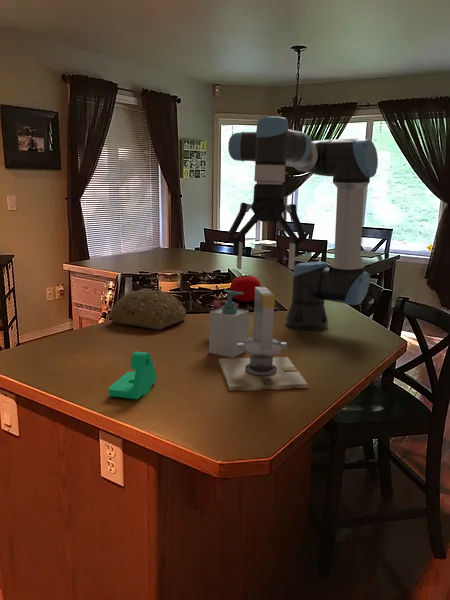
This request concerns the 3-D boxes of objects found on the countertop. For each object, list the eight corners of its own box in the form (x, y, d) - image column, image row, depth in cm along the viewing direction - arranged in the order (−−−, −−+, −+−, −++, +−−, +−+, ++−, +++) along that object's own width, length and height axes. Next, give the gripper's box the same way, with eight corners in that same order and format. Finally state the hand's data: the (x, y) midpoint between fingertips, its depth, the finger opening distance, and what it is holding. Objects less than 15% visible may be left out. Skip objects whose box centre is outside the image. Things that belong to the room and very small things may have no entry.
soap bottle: (233, 358, 147) (235, 295, 143) (208, 352, 152) (209, 291, 147) (248, 351, 154) (250, 290, 150) (223, 345, 159) (225, 286, 154)
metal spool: (272, 364, 140) (273, 345, 139) (279, 375, 132) (280, 356, 130) (242, 365, 139) (243, 346, 137) (248, 376, 131) (249, 356, 129)
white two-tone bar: (280, 343, 140) (284, 286, 136) (291, 356, 129) (295, 296, 126) (234, 343, 138) (236, 286, 135) (240, 357, 128) (243, 296, 124)
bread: (103, 325, 178) (103, 292, 175) (136, 311, 197) (135, 281, 194) (164, 334, 169) (164, 300, 166) (192, 319, 188) (192, 288, 185)
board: (287, 360, 146) (287, 356, 146) (307, 388, 127) (307, 382, 127) (219, 362, 144) (219, 357, 143) (229, 390, 124) (229, 385, 124)
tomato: (261, 305, 213) (263, 277, 210) (229, 304, 213) (230, 277, 210) (260, 298, 225) (261, 272, 222) (229, 297, 225) (230, 271, 222)
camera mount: (128, 380, 130) (127, 342, 127) (156, 384, 128) (156, 345, 125) (107, 399, 118) (106, 358, 116) (137, 403, 116) (137, 361, 114)
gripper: (313, 184, 129) (307, 266, 134) (217, 181, 126) (215, 265, 131) (323, 185, 122) (316, 271, 127) (221, 181, 119) (218, 270, 123)
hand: (265, 268), depth 129 cm, fingers open, 13 cm apart
